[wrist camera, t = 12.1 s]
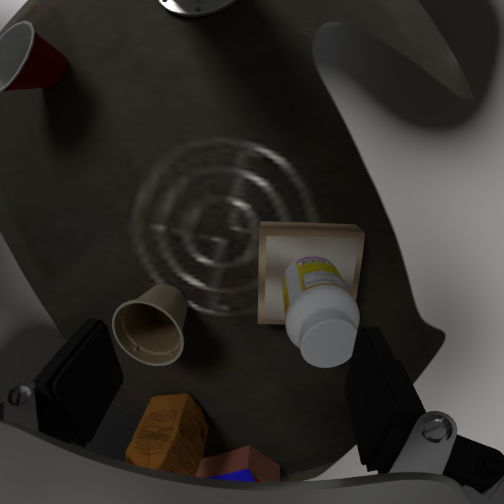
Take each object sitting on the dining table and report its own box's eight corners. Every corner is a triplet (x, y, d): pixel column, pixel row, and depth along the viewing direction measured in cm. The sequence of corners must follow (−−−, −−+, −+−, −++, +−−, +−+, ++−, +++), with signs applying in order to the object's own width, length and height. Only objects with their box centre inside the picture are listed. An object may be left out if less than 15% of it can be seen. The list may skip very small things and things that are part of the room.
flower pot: (211, 296, 39) (197, 330, 31) (182, 341, 42) (165, 377, 34) (153, 260, 38) (125, 285, 30) (130, 308, 41) (104, 338, 33)
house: (282, 464, 52) (281, 506, 41) (216, 481, 57) (210, 516, 46) (250, 443, 50) (245, 489, 39) (183, 461, 54) (172, 499, 43)
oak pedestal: (260, 221, 36) (259, 229, 32) (355, 224, 35) (365, 232, 31) (259, 308, 40) (257, 324, 35) (344, 309, 39) (352, 325, 35)
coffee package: (170, 430, 50) (141, 516, 29) (146, 389, 46) (101, 484, 26) (215, 431, 49) (196, 526, 28) (195, 389, 45) (162, 498, 24)
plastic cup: (91, 56, 30) (41, 35, 18) (50, 113, 32) (-5, 109, 21) (62, 30, 28) (16, 10, 16) (25, 81, 30) (-25, 74, 19)
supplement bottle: (308, 316, 35) (322, 389, 22) (269, 281, 34) (268, 348, 21) (349, 279, 33) (385, 341, 21) (312, 241, 32) (336, 291, 20)
